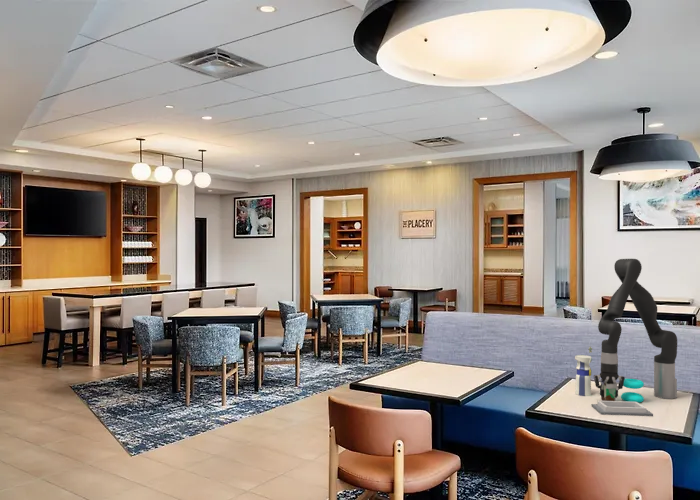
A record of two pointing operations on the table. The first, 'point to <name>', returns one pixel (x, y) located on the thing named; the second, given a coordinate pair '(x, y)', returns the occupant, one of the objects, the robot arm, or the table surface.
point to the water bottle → (583, 375)
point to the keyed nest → (621, 408)
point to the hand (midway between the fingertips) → (608, 397)
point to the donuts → (632, 395)
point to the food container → (609, 391)
